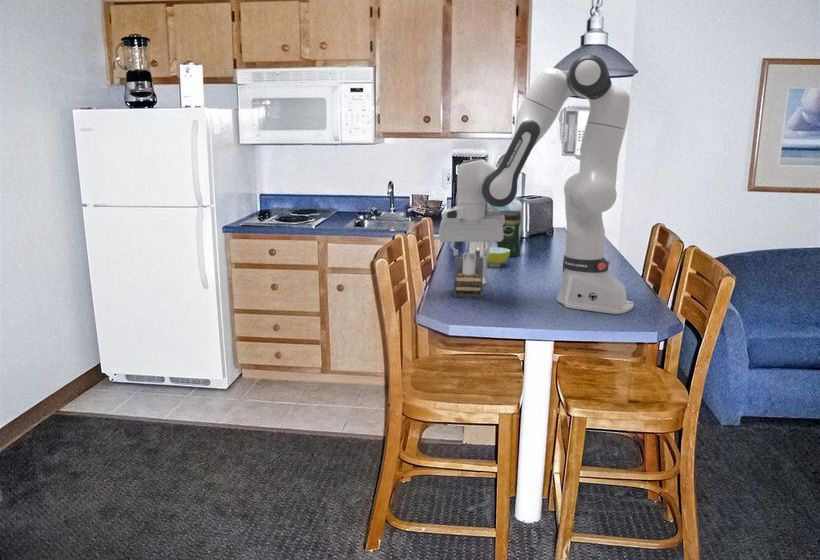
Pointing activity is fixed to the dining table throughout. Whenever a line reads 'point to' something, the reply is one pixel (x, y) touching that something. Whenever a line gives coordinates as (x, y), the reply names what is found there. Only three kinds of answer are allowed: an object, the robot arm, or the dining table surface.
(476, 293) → the stand
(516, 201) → the lunch box
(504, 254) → the bowl
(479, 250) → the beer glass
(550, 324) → the dining table surface
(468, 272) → the metal cylinder
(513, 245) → the coffee jar
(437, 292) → the dining table surface
